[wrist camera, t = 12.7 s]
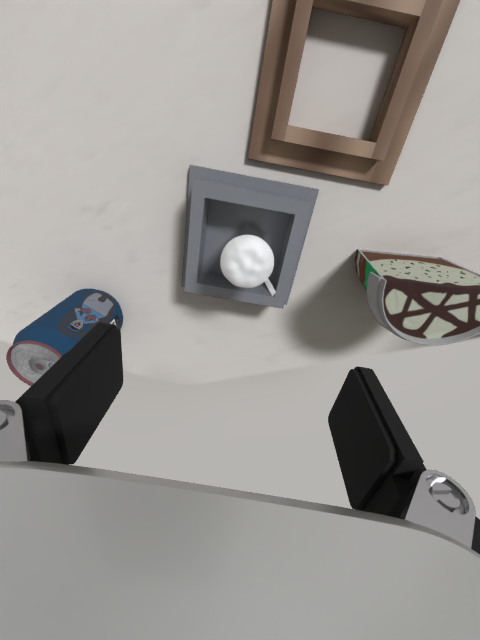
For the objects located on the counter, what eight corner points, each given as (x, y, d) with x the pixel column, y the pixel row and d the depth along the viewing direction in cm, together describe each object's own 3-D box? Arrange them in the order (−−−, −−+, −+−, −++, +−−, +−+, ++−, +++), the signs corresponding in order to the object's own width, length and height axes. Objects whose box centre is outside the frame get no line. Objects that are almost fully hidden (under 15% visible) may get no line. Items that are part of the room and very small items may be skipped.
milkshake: (255, 272, 32) (254, 312, 23) (219, 241, 31) (205, 271, 22) (283, 244, 30) (295, 275, 22) (247, 208, 29) (244, 227, 20)
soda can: (77, 327, 38) (9, 389, 27) (70, 280, 34) (-11, 330, 24) (128, 335, 38) (80, 399, 28) (125, 289, 35) (69, 343, 24)
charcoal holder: (317, 189, 28) (326, 192, 25) (286, 302, 35) (289, 318, 31) (191, 165, 28) (181, 165, 24) (182, 284, 34) (174, 298, 30)
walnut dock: (463, -19, 21) (482, -35, 19) (385, 185, 28) (394, 186, 26) (282, -60, 20) (284, -81, 19) (247, 158, 27) (247, 157, 25)
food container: (330, 297, 34) (356, 343, 25) (344, 247, 31) (379, 280, 22) (430, 307, 34) (491, 356, 25) (453, 258, 31) (531, 295, 22)
